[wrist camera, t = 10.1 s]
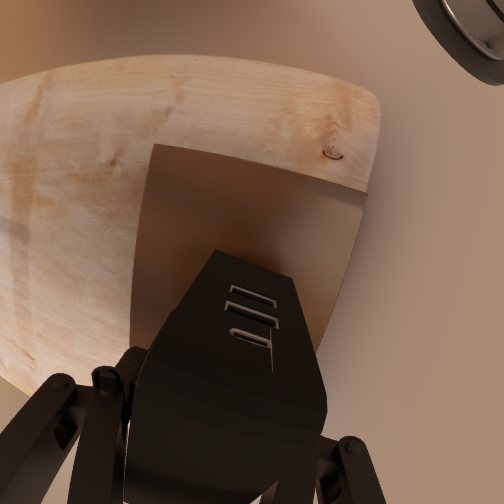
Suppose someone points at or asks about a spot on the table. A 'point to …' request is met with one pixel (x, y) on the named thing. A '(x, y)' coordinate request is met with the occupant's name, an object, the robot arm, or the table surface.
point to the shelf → (238, 232)
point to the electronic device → (225, 391)
